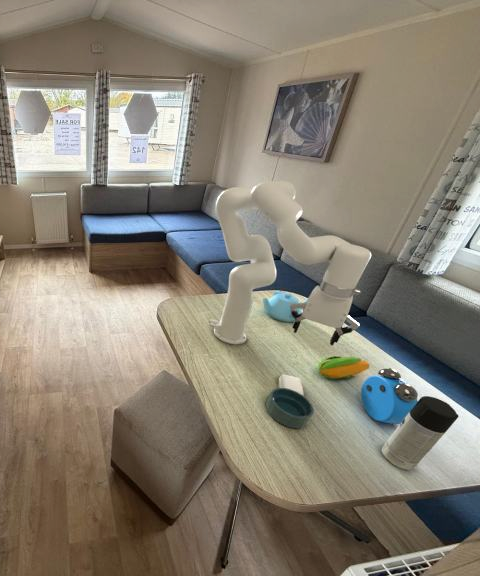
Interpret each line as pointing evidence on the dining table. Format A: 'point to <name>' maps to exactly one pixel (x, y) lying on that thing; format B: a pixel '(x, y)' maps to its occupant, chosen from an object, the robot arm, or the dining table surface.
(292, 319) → the teapot
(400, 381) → the alarm clock
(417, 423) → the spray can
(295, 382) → the soap
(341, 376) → the corn
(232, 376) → the dining table surface
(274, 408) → the bowl
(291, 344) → the dining table surface
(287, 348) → the dining table surface
